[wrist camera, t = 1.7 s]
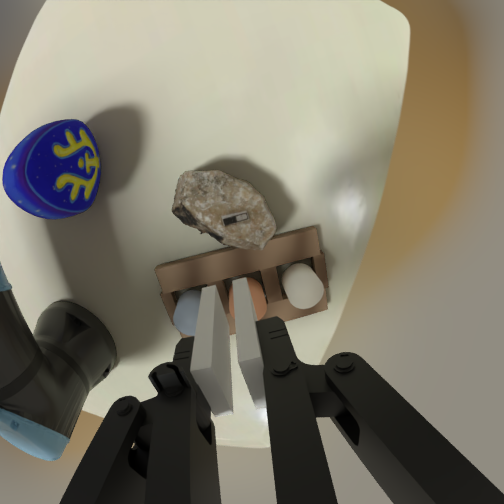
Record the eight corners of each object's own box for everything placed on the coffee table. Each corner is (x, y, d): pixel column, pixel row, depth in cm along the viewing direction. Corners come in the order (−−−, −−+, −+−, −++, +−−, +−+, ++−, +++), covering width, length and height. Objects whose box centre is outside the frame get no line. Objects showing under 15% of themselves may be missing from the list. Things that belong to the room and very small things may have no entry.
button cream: (284, 297, 37) (291, 313, 33) (278, 268, 35) (284, 281, 31) (316, 289, 37) (325, 303, 33) (311, 259, 35) (321, 271, 31)
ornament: (116, 203, 32) (53, 233, 18) (61, 212, 32) (-9, 243, 17) (110, 119, 29) (43, 101, 14) (54, 135, 28) (-20, 133, 14)
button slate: (184, 321, 36) (180, 338, 33) (173, 294, 35) (167, 309, 31) (214, 315, 36) (214, 331, 33) (205, 286, 35) (203, 301, 31)
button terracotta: (233, 310, 36) (234, 327, 33) (224, 281, 35) (224, 296, 31) (265, 302, 37) (270, 318, 33) (258, 273, 35) (262, 286, 31)
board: (183, 338, 39) (181, 344, 38) (153, 266, 35) (151, 270, 34) (327, 303, 39) (331, 308, 38) (316, 225, 35) (320, 227, 34)
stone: (260, 246, 36) (268, 263, 29) (169, 216, 33) (156, 226, 27) (280, 193, 34) (294, 198, 27) (187, 161, 32) (178, 157, 25)
